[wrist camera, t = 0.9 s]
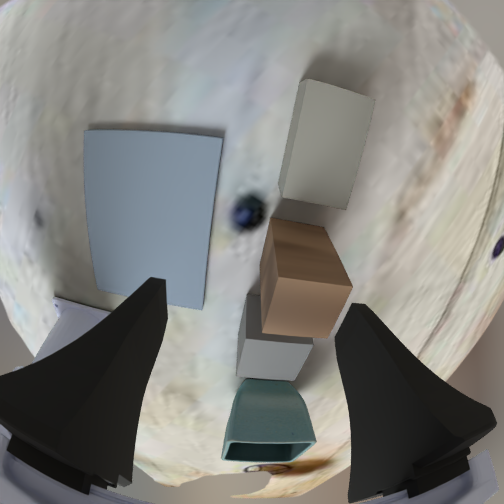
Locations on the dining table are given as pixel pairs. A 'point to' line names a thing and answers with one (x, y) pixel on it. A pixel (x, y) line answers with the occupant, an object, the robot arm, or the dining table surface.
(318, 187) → the pale grey block
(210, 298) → the dining table surface
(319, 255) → the tall walnut block
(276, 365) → the grey cube
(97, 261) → the slate mat
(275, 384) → the flower pot
